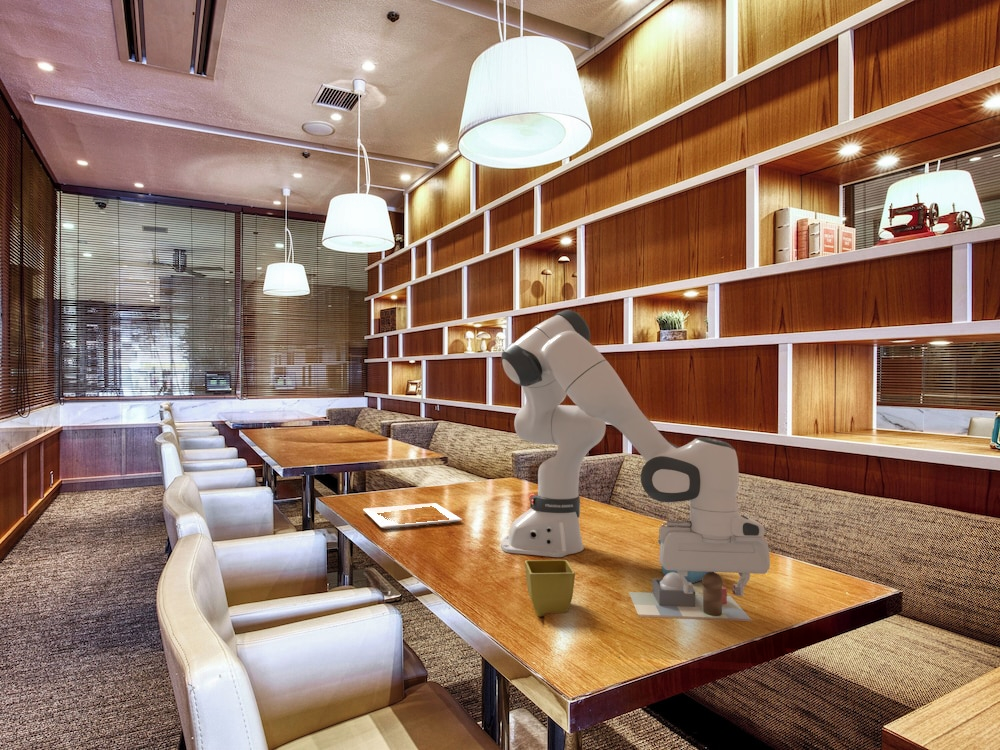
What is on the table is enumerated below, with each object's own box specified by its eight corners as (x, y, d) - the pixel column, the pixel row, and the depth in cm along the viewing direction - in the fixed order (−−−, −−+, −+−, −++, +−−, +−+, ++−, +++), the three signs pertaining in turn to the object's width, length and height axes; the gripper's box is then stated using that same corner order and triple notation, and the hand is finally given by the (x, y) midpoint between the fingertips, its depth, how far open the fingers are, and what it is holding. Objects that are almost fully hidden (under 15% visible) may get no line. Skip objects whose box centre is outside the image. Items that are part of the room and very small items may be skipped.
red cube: (713, 604, 116) (713, 589, 116) (705, 599, 119) (705, 584, 119) (726, 603, 117) (726, 588, 117) (718, 598, 120) (718, 583, 120)
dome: (662, 602, 116) (662, 576, 116) (657, 593, 121) (657, 568, 121) (690, 603, 116) (690, 577, 116) (683, 594, 121) (683, 569, 121)
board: (638, 621, 110) (639, 600, 110) (628, 596, 123) (628, 577, 123) (753, 626, 108) (753, 605, 108) (730, 600, 121) (730, 581, 121)
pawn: (704, 615, 110) (703, 574, 111) (700, 608, 114) (700, 568, 114) (725, 616, 110) (724, 575, 110) (721, 609, 113) (720, 569, 114)
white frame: (362, 514, 196) (362, 508, 196) (435, 508, 207) (435, 502, 207) (380, 533, 172) (380, 526, 172) (462, 525, 183) (462, 518, 183)
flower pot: (523, 603, 118) (524, 559, 118) (566, 603, 118) (566, 559, 119) (529, 621, 109) (530, 573, 109) (575, 620, 110) (575, 573, 110)
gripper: (662, 524, 110) (661, 597, 110) (773, 527, 108) (772, 602, 108) (656, 516, 116) (655, 585, 116) (760, 520, 115) (760, 590, 115)
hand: (712, 593), depth 112 cm, fingers open, 8 cm apart
